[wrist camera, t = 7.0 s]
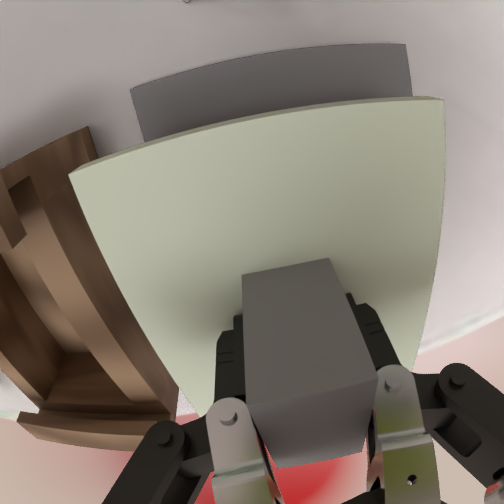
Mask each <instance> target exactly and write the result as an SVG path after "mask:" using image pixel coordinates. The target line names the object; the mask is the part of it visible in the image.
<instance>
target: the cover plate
mask: <svg viewBox="0 0 504 504" xmlns="http://www.w3.org/2000/svg"><path fill="white" fill-rule="evenodd" d="M68 175H69V178H70V181H71V183H72V186H73V188H74V191H75V193H76V196H77V198H78V201H79V203H80V206H81V208H82V210H83V213H84V215H85V218H86V220H87V222H88V224H89V227H90V229H91V231H92V233H93V236H94V238H95V240H96V242H97V244H98V246H99V249H100V251H101V253H102V255H103V257H104V259H105V261H106V263H107V265H108V267H109V269H110V271H111V273H112V275H113V277H114V279H115V281H116V283H117V285H118V287H119V289H120V291H121V292H122V294H123V296H124V298H125V300H126V302H127V304H128V305H129V307H130V309H131V311H132V313H133V314H134V316H135V318H136V320H137V321H138V323H139V325H140V327H141V328H142V330H143V332H144V333H145V335H146V337H147V338H148V340H149V342H150V343H151V345H152V347H153V348H154V350H155V351H156V353H157V355H158V356H159V358H160V359H161V361H162V363H163V364H164V366H165V367H166V369H167V370H168V372H169V373H170V375H171V376H172V378H173V379H174V381H175V382H176V384H177V385H178V387H179V388H180V390H181V391H182V393H183V394H184V396H185V397H186V398H187V400H188V401H189V403H190V404H191V406H192V407H193V408H194V410H195V411H196V412H197V414H198V415H199V417H200V418H201V417H202V416H204V415H205V414H206V413H207V411H208V409H209V408H210V407H211V405H213V402H214V391H215V365H216V343H217V340H218V339H219V337H220V335H221V333H222V331H227V330H233V316H234V315H239V314H243V336H244V362H245V388H246V406H247V408H248V410H249V412H250V414H251V416H252V419H253V421H254V423H255V425H256V427H257V429H258V431H259V433H260V435H261V437H262V439H263V441H264V443H265V445H266V447H267V449H268V451H269V453H270V455H271V457H272V459H273V461H274V463H275V465H276V466H277V468H284V467H291V466H298V465H303V464H309V463H315V462H319V461H325V460H329V459H334V458H338V457H343V456H346V455H351V454H355V453H359V452H362V449H363V445H364V442H365V438H366V434H367V430H368V426H369V422H370V417H371V413H372V409H373V404H374V399H375V394H376V389H377V384H378V379H379V377H378V375H377V372H376V369H375V367H374V364H373V362H372V359H371V356H370V354H369V351H368V349H367V346H366V344H365V341H364V339H363V336H362V334H361V331H360V329H359V326H358V324H357V321H356V319H355V317H354V314H353V312H352V309H351V307H350V305H349V302H348V300H347V298H346V295H345V293H351V294H352V296H353V298H354V301H355V303H356V305H358V304H363V303H367V304H368V305H370V306H371V307H372V308H373V309H374V310H376V312H377V314H378V316H379V318H380V320H381V323H382V324H383V327H384V329H385V331H386V333H387V335H388V337H389V339H390V341H391V344H392V346H393V348H394V350H395V352H396V354H397V357H398V359H399V361H400V363H401V364H402V365H403V367H405V368H407V369H408V370H409V371H411V372H412V369H413V366H414V363H415V359H416V356H417V352H418V348H419V345H420V341H421V337H422V333H423V329H424V325H425V321H426V316H427V312H428V307H429V302H430V297H431V292H432V287H433V281H434V276H435V269H436V263H437V256H438V249H439V241H440V233H441V223H442V213H443V199H444V181H445V119H444V102H443V100H442V99H437V98H433V97H428V96H415V97H390V98H374V99H362V100H351V101H341V102H332V103H324V104H316V105H309V106H302V107H296V108H289V109H283V110H277V111H272V112H266V113H261V114H256V115H251V116H246V117H241V118H236V119H232V120H227V121H223V122H219V123H214V124H210V125H206V126H202V127H198V128H194V129H191V130H187V131H183V132H180V133H176V134H172V135H169V136H165V137H162V138H159V139H155V140H152V141H149V142H146V143H143V144H139V145H136V146H133V147H130V148H127V149H124V150H121V151H118V152H116V153H113V154H110V155H107V156H104V157H102V158H99V159H96V160H94V161H91V162H88V163H86V164H83V165H81V166H80V167H78V168H77V169H75V170H74V171H72V172H71V173H70V174H68Z"/></svg>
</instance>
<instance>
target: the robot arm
mask: <svg viewBox="0 0 504 504" xmlns="http://www.w3.org/2000/svg"><path fill="white" fill-rule="evenodd" d="M345 295H346V298H347V300H348V302H349V305H350V307H351V309H352V312H353V314H354V317H355V319H356V321H357V324H358V326H359V329H360V331H361V334H362V336H363V339H364V341H365V344H366V346H367V349H368V351H369V354H370V356H371V359H372V362H373V364H374V367H375V369H376V372H377V375H378V377H379V379H378V384H377V389H376V394H375V399H374V404H373V409H372V413H371V417H370V422H369V426H368V430H367V434H366V442H367V460H368V470H367V483H366V486H367V492H365V493H362V494H360V495H358V496H356V497H354V498H353V499H351V500H348V501H346V502H344V503H342V504H447V503H445V502H443V501H441V500H440V490H439V480H438V472H437V465H436V457H435V451H434V444H433V440H432V438H433V439H435V440H436V441H437V442H438V443H439V444H440V445H441V446H442V447H443V448H444V449H445V450H446V451H447V452H448V453H449V454H450V455H451V456H453V457H454V458H455V459H456V460H457V461H458V462H459V463H460V464H461V465H462V466H463V467H464V468H465V469H467V471H469V472H470V473H471V474H472V475H473V476H474V477H475V478H476V479H477V480H478V481H479V482H480V483H482V484H483V485H484V486H485V487H486V488H487V489H486V492H485V496H484V502H485V504H504V394H503V393H501V392H500V391H499V390H498V389H496V388H495V387H494V386H493V385H491V384H490V383H489V382H488V381H486V380H485V379H484V378H482V377H481V376H480V375H479V374H478V373H476V372H475V371H474V370H472V369H471V368H470V367H468V366H467V365H465V364H461V363H453V364H449V365H447V366H446V367H444V368H443V369H442V371H441V372H440V374H416V373H413V372H411V371H409V370H408V369H407V368H405V367H403V365H402V364H401V363H400V361H399V359H398V357H397V354H396V352H395V350H394V348H393V346H392V344H391V341H390V339H389V337H388V335H387V333H386V331H385V329H384V327H383V324H382V323H381V320H380V318H379V316H378V314H377V312H376V310H374V309H373V308H372V307H371V306H370V305H368V304H367V303H363V304H358V305H356V303H355V301H354V298H353V296H352V294H351V293H345ZM213 471H215V475H214V476H213V477H212V487H213V494H214V498H215V503H216V504H284V501H283V498H282V496H281V493H280V491H279V488H278V485H277V482H276V479H275V476H274V473H273V469H272V466H271V463H270V460H269V456H268V453H267V450H266V446H265V443H264V441H263V439H262V437H261V435H260V433H259V431H258V429H257V427H256V425H255V423H254V421H253V419H252V416H251V414H250V412H249V410H248V408H247V406H246V388H245V362H244V336H243V314H239V315H234V316H233V330H227V331H222V333H221V335H220V337H219V339H218V340H217V343H216V365H215V391H214V402H213V405H211V407H210V408H209V409H208V411H207V413H206V414H205V415H204V416H202V417H201V418H199V419H197V420H194V421H191V422H189V423H186V424H183V425H179V424H177V423H176V422H173V421H169V420H165V421H160V422H157V423H156V424H154V425H153V426H151V427H150V428H149V430H148V431H147V433H146V434H145V436H144V437H143V439H142V441H141V442H140V444H139V445H138V447H137V449H136V450H135V452H134V453H133V455H132V457H131V458H130V460H129V462H128V463H127V465H126V466H125V468H124V469H123V471H122V473H121V474H120V476H119V477H118V479H117V480H116V482H115V484H114V485H113V487H112V488H111V490H110V492H109V493H108V495H107V496H106V498H105V499H104V501H103V503H102V504H194V502H195V501H196V499H197V497H198V495H199V493H200V491H201V489H202V487H203V485H204V483H205V481H206V479H207V478H208V476H209V474H210V472H213ZM411 482H412V485H410V483H411Z"/></svg>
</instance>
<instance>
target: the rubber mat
mask: <svg viewBox="0 0 504 504" xmlns="http://www.w3.org/2000/svg"><path fill="white" fill-rule="evenodd" d="M130 92H131V96H132V100H133V103H134V107H135V110H136V114H137V117H138V120H139V124H140V127H141V131H142V134H143V137H144V140H145V143H146V142H149V141H152V140H155V139H159V138H162V137H165V136H169V135H172V134H176V133H180V132H183V131H187V130H191V129H194V128H198V127H202V126H206V125H210V124H214V123H219V122H223V121H227V120H232V119H236V118H241V117H246V116H251V115H256V114H261V113H266V112H272V111H277V110H283V109H289V108H296V107H302V106H309V105H316V104H324V103H332V102H341V101H351V100H362V99H374V98H390V97H413V96H412V87H411V79H410V71H409V64H408V57H407V51H406V45H405V44H350V45H333V46H320V47H310V48H301V49H292V50H285V51H278V52H271V53H265V54H259V55H254V56H249V57H243V58H238V59H234V60H229V61H224V62H220V63H216V64H212V65H208V66H204V67H200V68H196V69H192V70H189V71H185V72H182V73H178V74H175V75H172V76H168V77H165V78H162V79H159V80H156V81H153V82H150V83H147V84H144V85H141V86H138V87H135V88H133V89H130Z"/></svg>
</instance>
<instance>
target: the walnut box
mask: <svg viewBox="0 0 504 504" xmlns="http://www.w3.org/2000/svg"><path fill="white" fill-rule="evenodd" d="M96 159H98V156H97V154H96V151H95V148H94V145H93V142H92V138H91V135H90V132H89V129H88V126H87V127H85V128H83V129H80V130H78V131H76V132H73V133H71V134H69V135H67V136H65V137H62V138H60V139H58V140H56V141H54V142H52V143H50V144H48V145H46V146H44V147H42V148H40V149H38V150H36V151H34V152H32V153H30V154H28V155H26V156H24V157H22V158H21V159H19V160H17V161H15V162H13V163H12V164H10V165H8V166H6V167H5V168H3V169H1V170H0V368H1V370H2V371H3V372H4V373H5V374H6V375H7V376H8V377H9V378H10V380H11V381H12V382H13V383H14V384H15V385H16V386H17V387H18V388H19V389H20V390H21V391H22V392H23V393H24V394H25V395H26V396H27V397H28V398H29V399H30V400H31V401H32V402H33V403H34V404H35V405H36V406H37V407H38V408H39V409H40V410H39V413H38V414H35V413H28V412H22V411H20V414H19V416H18V419H17V422H18V423H19V424H20V425H21V426H22V427H23V428H25V429H26V430H27V431H28V432H29V433H31V434H32V435H33V436H35V437H36V438H37V439H42V440H46V441H51V442H57V443H63V444H69V445H75V446H83V447H91V448H99V449H109V450H120V451H134V452H135V450H136V449H137V447H138V445H139V444H140V442H141V441H142V439H143V437H144V436H145V434H146V433H147V431H148V430H149V428H150V427H151V426H153V425H154V424H156V423H157V422H160V421H165V420H169V421H173V422H175V419H176V410H177V402H178V393H179V387H178V385H177V384H176V382H175V381H174V379H173V378H172V376H171V375H170V373H169V372H168V370H167V369H166V367H165V366H164V364H163V363H162V361H161V359H160V358H159V356H158V355H157V353H156V351H155V350H154V348H153V347H152V345H151V343H150V342H149V340H148V338H147V337H146V335H145V333H144V332H143V330H142V328H141V327H140V325H139V323H138V321H137V320H136V318H135V316H134V314H133V313H132V311H131V309H130V307H129V305H128V304H127V302H126V300H125V298H124V296H123V294H122V292H121V291H120V289H119V287H118V285H117V283H116V281H115V279H114V277H113V275H112V273H111V271H110V269H109V267H108V265H107V263H106V261H105V259H104V257H103V255H102V253H101V251H100V249H99V246H98V244H97V242H96V240H95V238H94V236H93V233H92V231H91V229H90V227H89V224H88V222H87V220H86V218H85V215H84V213H83V210H82V208H81V206H80V203H79V201H78V198H77V196H76V193H75V191H74V188H73V186H72V183H71V181H70V178H69V175H68V174H70V173H71V172H72V171H74V170H75V169H77V168H78V167H80V166H81V165H83V164H86V163H88V162H91V161H94V160H96Z"/></svg>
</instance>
